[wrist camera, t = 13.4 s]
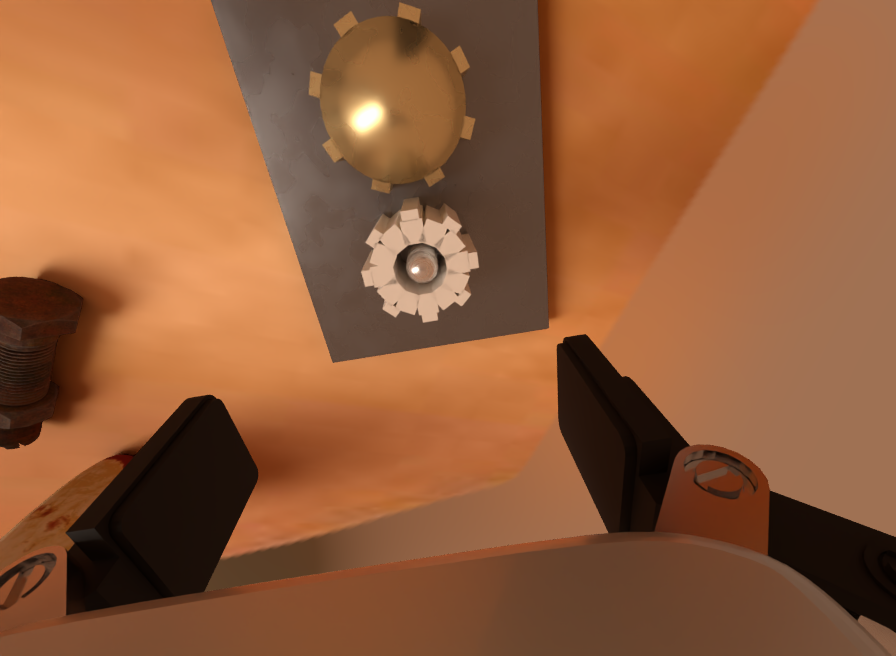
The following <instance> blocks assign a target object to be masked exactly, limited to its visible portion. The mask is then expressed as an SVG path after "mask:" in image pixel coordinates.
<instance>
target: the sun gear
mask: <svg viewBox="0 0 896 656" xmlns="http://www.w3.org/2000/svg"><path fill="white" fill-rule="evenodd" d="M334 26H335V28H336V30H337V31H338V33H339V35H340V36H341V37H340V39H339V40H338V41H337V42H336V44H335V45H334V47H333V48H332V50H331V52H330V53H329V55H328V58H327V60H326V62H325V65H324V69H323V72H322V74H319V73H315V72H312V71H310V84H309V95H311V96H313V97H316V98H319V99H320V106H321V112H322V117H323V121H324V124H325V127H326V130H327V132H328V134H329V137H330V139H329V140H328V141H327V142H325V143H324V144H322V145H323V147H324V148H325V150H326V151H327V153H328V154H329V155H330V157H331V158H332V160H333V161H334V163H335V162H339V161H343V160H346V161H347V162H348V163H349V164H350V165H351V166H352V167H354V168H355V169H356V170H357V171H359V172H361V173H362V174H364V175H365V176H368V177H370V178H372V179H373V180H372V187H371V189H373V190H377V191H381V192H385V193H390V192H391V190H392V189H393V185H394V184H404V183H411V182H415V181H418V180H421V179H423V178H424V179H425V180H426V182H427V184H428V185H429V187H430V186H432V185H433V184H435V183H436V182H438V181H439V180H441V179H442V178H444V177H445V176H444V174H443V172H442V170H441V169H440V167H441V166H442V165H443V164H444V163H445V162H446V161H447V160H448V158H449V157H450V156H451V154H452V153H453V151H454V149H455V148H456V146H457V144H458V142H459V139H460V138H461V139H464V140H470V139H471V135H472V131H473V127H474V123H475V119H474V118H471V117H467V116H465V114H466V97H465V90H464V84H463V80H462V77H463V76H465V74H466V73H467V71H468V69H469V68H470V66H469V64H468V62H467V60H466V57H465V55H464V53H463V51H462V49H461V47H460V46H458V47H457V48H455V49H454V50H453V51H451V52H450V51H449V50H448V49H447V47H446V46H445V45H444V43H443V42H442V41H441V40H440V39H439V38H438V37H437V36H436V35H435V34H433V33H432V32H431V31H430V30H428V29H427V28H425V27H424V26H422V25H421V9H418V8H415V7H412V6H409V5H406V4H403V3H400V2H399V9H398V15H397V17H395V16H381V17H375V18H371V19H367V20H365V21H363V22H360V23H358V22H357V20H356V19H355V17H354V15H353V13H352V12H351V11H350V12H349V13H348V14H346V15H345V16H344V17H343V18H341V19H340V20H339V21H337V22H336V23H335V24H334Z"/></svg>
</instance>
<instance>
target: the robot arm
mask: <svg viewBox="0 0 896 656" xmlns="http://www.w3.org/2000/svg"><path fill="white" fill-rule="evenodd" d="M557 378H558V419H559V426H560V430H561V433H562V435H563V437H564V439H565V441H566V444H567V446H568V448H569V450H570V452H571V454H572V456H573V459H574V461H575V463H576V465H577V467H578V469H579V471H580V473H581V475H582V478H583V480H584V482H585V484H586V486H587V488H588V490H589V492H590V494H591V497H592V499H593V501H594V503H595V505H596V507H597V509H598V511H599V514H600V516H601V518H602V520H603V522H604V524H605V526H606V529H607V531H608V533H606V534H594V535H584V536H577V537H569V538H561V539H553V540H545V541H538V542H530V543H522V544H515V545H507V546H501V547H494V548H487V549H480V550H474V551H467V552H460V553H454V554H447V555H441V556H433V557H427V558H420V559H413V560H406V561H400V562H393V563H387V564H380V565H374V566H367V567H360V568H354V569H347V570H341V571H334V572H328V573H321V574H315V575H308V576H302V577H295V578H289V579H283V580H276V581H270V582H263V583H257V584H251V585H244V586H238V587H232V588H225V589H219V590H213V591H207V592H204V591H205V589H206V587H207V585H208V582H209V580H210V578H211V576H212V574H213V572H214V570H215V568H216V566H217V564H218V562H219V560H220V557H221V555H222V553H223V551H224V549H225V547H226V545H227V543H228V541H229V539H230V537H231V535H232V532H233V530H234V528H235V526H236V524H237V522H238V520H239V518H240V516H241V514H242V512H243V510H244V508H245V505H246V503H247V501H248V499H249V497H250V495H251V493H252V491H253V489H254V487H255V485H256V483H257V480H258V469H257V467H256V465H255V463H254V461H253V459H252V457H251V455H250V453H249V451H248V449H247V447H246V445H245V444H244V442H243V440H242V438H241V436H240V434H239V432H238V430H237V428H236V426H235V424H234V423H233V421H232V419H231V417H230V415H229V413H228V411H227V409H226V407H225V405H224V403H223V402H222V401H221V400H220V399H216V397H214V396H213V395H205V396H198V397H192V398H188V399H186V400H185V401H184V402H183V403H182V404H181V405H180V406H179V407H178V409H177V410H176V411H175V412H174V413H173V414H172V415H171V416H170V417H169V418H168V420H167V421H166V422H165V423H164V424H163V425H162V426H161V427H160V428H159V430H158V431H157V432H156V433H155V434H154V435H153V436H152V437H151V438H150V439H149V441H148V442H147V443H146V444H145V445H144V446H143V447H142V448H141V449H140V451H139V452H138V453H137V454H136V455H135V456H134V457H133V458H132V459H131V461H130V462H129V463H128V464H127V465H126V466H125V467H124V468H123V469H122V470H121V472H120V473H119V474H118V475H117V476H116V477H115V478H114V479H113V480H112V482H111V483H110V484H109V485H108V486H107V487H106V488H105V489H104V490H103V491H102V493H101V494H100V495H99V496H98V497H97V498H96V499H95V500H94V501H93V503H92V504H91V505H90V506H89V507H88V508H87V509H86V510H85V511H84V513H83V514H82V515H81V516H80V517H79V518H78V519H77V520H76V521H75V522H74V524H73V525H72V526H71V527H70V528H69V529H68V530H67V531H66V532H65V533H66V534H67V535H68V536H69V537H70V539H71V540H72V541H73V542H74V545H73V546H72V547H71V548H70V549H69V550H68V551H67V550H66V549H65V548H64V547H61V546H59V545H57V546H48V547H44V548H41V549H38V550H35V551H33V552H31V553H29V554H27V555H25V556H23V557H21V558H19V559H18V560H16V561H15V562H13V563H12V564H10V565H8V566H7V567H5V568H4V569H3V570H1V571H0V656H896V537H894V536H891V535H888V534H886V533H883V532H880V531H877V530H875V529H872V528H870V527H867V526H864V525H861V524H859V523H856V522H853V521H851V520H848V519H845V518H843V517H840V516H837V515H835V514H832V513H829V512H826V511H823V510H821V509H818V508H816V507H813V506H810V505H807V504H805V503H802V502H799V501H797V500H794V499H791V498H789V497H786V496H783V495H781V494H778V493H775V492H772V491H770V489H769V484H768V480H767V478H766V477H765V475H764V474H763V472H762V471H761V470H760V468H758V467H757V466H756V465H755V464H754V463H753V462H752V461H750V460H749V459H747V458H745V457H744V456H742V455H740V454H739V453H737V452H734V451H731V450H728V449H726V448H723V447H718V446H714V445H693V446H690V445H689V444H688V443H687V442H686V441H685V440H684V439H683V437H682V436H681V435H680V434H679V433H678V432H677V431H676V429H675V428H674V427H673V426H672V425H671V424H670V422H669V421H668V420H667V419H666V418H665V417H664V416H663V414H662V413H661V412H660V411H659V410H658V409H657V407H656V406H655V405H654V404H653V403H652V402H651V401H650V399H649V398H648V397H647V396H646V395H645V394H644V393H643V392H642V391H641V389H640V388H639V387H638V386H637V385H636V383H635V382H634V381H633V380H632V379H631V378H629V377H626V376H625V377H622V376H621V375H620V374H619V373H618V372H617V370H616V369H615V368H614V367H613V366H612V364H611V363H610V362H609V361H608V360H607V358H606V357H605V356H604V355H603V354H602V352H601V351H600V350H599V349H598V348H597V346H596V345H595V344H594V343H593V342H592V341H591V339H590V338H589V337H588V336H587V335H586V334H583V335H577V336H571V337H565V338H564V340H563V343H561V344H558V345H557Z"/></svg>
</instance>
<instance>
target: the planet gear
mask: <svg viewBox="0 0 896 656" xmlns="http://www.w3.org/2000/svg"><path fill="white" fill-rule="evenodd" d="M461 227H462V225H461V223H460V221H459V218H458V216H457V214H456V212H455V211H454V210H453V209H451V208H450V207H449V206H447V205H446V204H445V203H444V204H443V205H442V207H441V208H440V210H438V209H435V208H433V207H430V206H428V205H426V208H425V211H424V212H423V206H422V205H420V202H419V197H415V198H409V199H404V202H403V205H402V208H401V210H399V211H398V212H397V213H396V214H394V215H393V216H392V217H391V218H388V217H387V216H386V215H384V214H382V216H381V217H380V219H379V220H378V222H377V223H376V225H375V227H374V228H373V230H372V232H371V234H370V235H369V237H368V239H367V241H366V242H365V243H367V244H368V245H370V246H371V247H373V248H374V250H371V252H370V254H369V256H368V258H367V260H366V262H365V264H364V266H363V269H362V271H361V273H362V277H363V280H364V284H365V287H367V286H373V285H374V287H378V290H377V292H378V293H379V294H380V295H381V296H382V297H383V298H384V300H385V301H384V305H383V310H384V311H386V312H388V313H389V314H391V315H393V316H394V317H396V316H397V315H398V314H399V312H400V311H403V312H406V313H409V314H413V315H415V313H416V310H417V308H418V312H419V315H422V320H423V323H424V322H430V321H436V320H438V312H439V306H440V307H441V308H442V310H444V309H446V308H447V307H448V306H450V305H451V304H452V303H454V302H456V303H457V304H459V305H460V306H463V304H464V303H465V302H466V301H467V299H468V298H469V297H470V296H471V292H470V288H469V285H468V279H469V277H470V275H469V272H470V269H475V268H479V264H478V256H477V251H476V249H475V247H474V244H473V242H472V240H471V238H470V236H469V234H463V235H461V233H460V228H461ZM418 243H425V244H428V245H430V246H433V247H436V248H437V249H438V250H439V252H440V253H441V254H442V256H441V259H440V261H439V262H438V272H437V275H436V276H435V277H434V279H432V280H431V281H429V282H427V283H418V282H415V281H414V280H412V279H411V278H410V277H409V275H408V273H407V270H406V263H405V262H404V261H403V260H402V259H401V257H400V253H399V252H401V251H402V250H403V249H404V248H405V247H407V246H408V245H412V244H418ZM438 305H439V306H438Z"/></svg>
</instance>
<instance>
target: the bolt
mask: <svg viewBox="0 0 896 656" xmlns="http://www.w3.org/2000/svg"><path fill="white" fill-rule="evenodd" d="M82 302H83V298H81V297H80V296H79V295H77V294H76V293H75V292H73V291H72V290H70V289H67V288H65V287H63V286H60V285H58V284H56V283H53V282H50V281H46V280H41V279H34V278H27V277H7V278H1V279H0V447H4V448H6V449H15V448H20V447H19V446H20V445H19V443H20V444H22V445H24V446H26V445H29V444H31V443H32V442H34V441H35V440H36V439H37V438H38V437H39V435H40V432H41V428H42V422H43V421H44V420H46V419H48V418H50V417H52V415H53V412H54V408H55V404H56V400H57V395H58V390H59V386H58V385H56V384H55V383H53V382H52V381H50V377H51V372H52V371H51V370H52V367H53V362H54V356H55V351H56V345H57V340H58V338H59V336H60V335H63V334H69V333H75V332H76V328H77V324H78V320H79V316H80V312H81V307H82Z"/></svg>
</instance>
